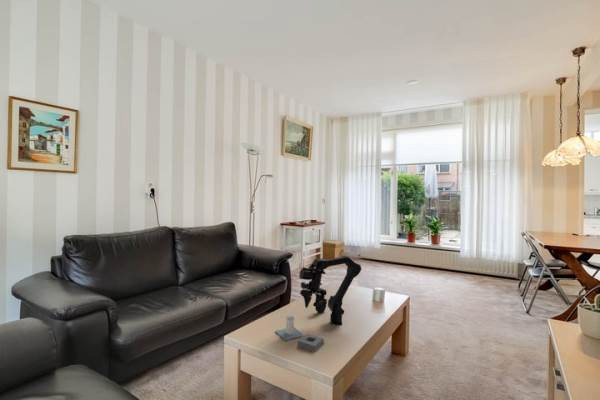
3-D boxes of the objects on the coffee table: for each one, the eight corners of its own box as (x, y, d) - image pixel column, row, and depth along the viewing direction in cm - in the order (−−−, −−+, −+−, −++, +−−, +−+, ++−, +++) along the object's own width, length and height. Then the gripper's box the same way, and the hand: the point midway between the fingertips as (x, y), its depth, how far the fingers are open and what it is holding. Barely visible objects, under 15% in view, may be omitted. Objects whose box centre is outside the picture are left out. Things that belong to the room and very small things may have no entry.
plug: (290, 331, 168) (291, 315, 168) (293, 333, 166) (293, 317, 166) (286, 332, 167) (286, 316, 167) (288, 334, 164) (289, 318, 164)
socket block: (307, 338, 161) (307, 333, 161) (323, 343, 156) (323, 338, 156) (297, 346, 153) (297, 340, 153) (314, 352, 148) (315, 346, 148)
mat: (293, 327, 174) (293, 326, 174) (304, 336, 164) (304, 335, 164) (275, 332, 168) (275, 331, 168) (285, 341, 158) (285, 340, 158)
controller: (327, 311, 202) (328, 296, 202) (317, 316, 192) (317, 301, 192) (322, 309, 204) (322, 294, 204) (311, 314, 195) (312, 299, 194)
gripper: (315, 276, 190) (310, 300, 189) (295, 277, 176) (290, 303, 175) (329, 281, 183) (324, 307, 182) (310, 282, 169) (305, 310, 168)
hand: (311, 306), depth 177 cm, fingers open, 9 cm apart
